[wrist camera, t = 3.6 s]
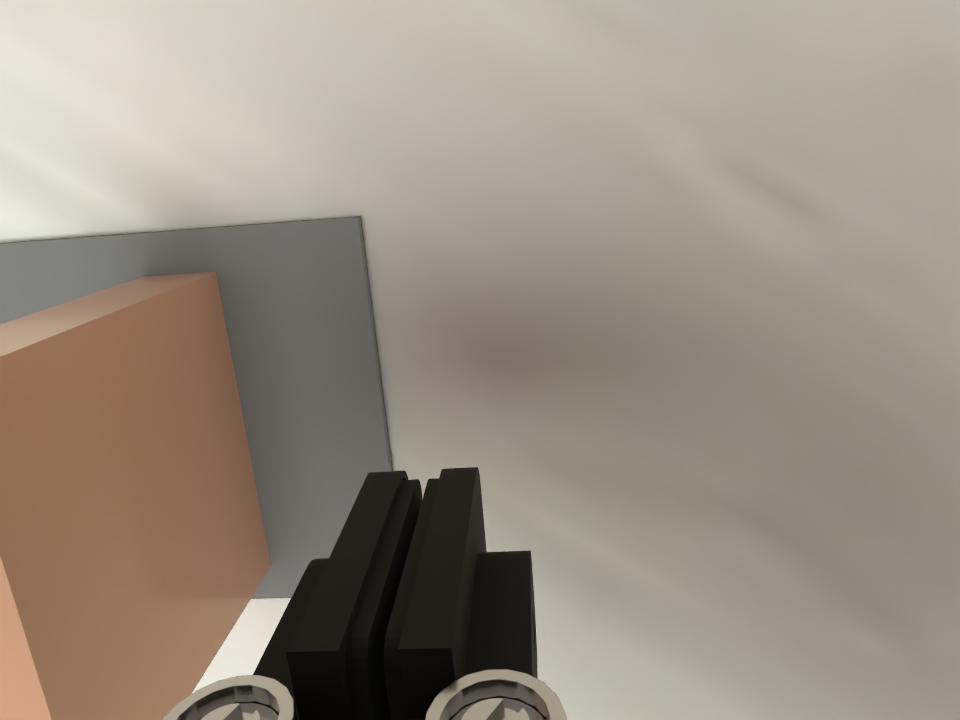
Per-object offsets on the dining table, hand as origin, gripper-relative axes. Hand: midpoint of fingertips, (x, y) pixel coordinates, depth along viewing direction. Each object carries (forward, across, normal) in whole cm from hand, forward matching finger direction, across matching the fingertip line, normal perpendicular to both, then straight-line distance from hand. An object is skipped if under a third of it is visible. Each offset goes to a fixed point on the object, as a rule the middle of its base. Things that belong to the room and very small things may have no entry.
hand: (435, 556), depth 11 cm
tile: (+7, +7, 0) cm, 9 cm away
